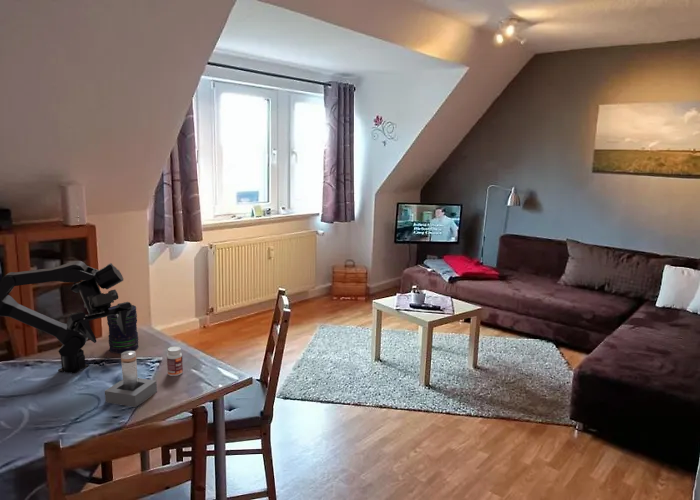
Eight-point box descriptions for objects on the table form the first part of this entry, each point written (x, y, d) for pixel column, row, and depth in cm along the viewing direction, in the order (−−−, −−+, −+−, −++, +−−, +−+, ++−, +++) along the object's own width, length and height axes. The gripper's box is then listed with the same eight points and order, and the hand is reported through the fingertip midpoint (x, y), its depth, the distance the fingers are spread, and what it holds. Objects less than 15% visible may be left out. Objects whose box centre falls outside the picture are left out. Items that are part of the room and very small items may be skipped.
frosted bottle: (120, 397, 154) (117, 355, 151) (129, 391, 158) (126, 350, 155) (133, 399, 153) (130, 357, 150) (141, 392, 157) (138, 351, 154)
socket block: (105, 402, 152) (104, 390, 151) (128, 387, 162) (127, 376, 161) (135, 407, 150) (135, 395, 149) (156, 391, 159) (156, 380, 158)
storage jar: (112, 344, 195) (109, 305, 192) (140, 342, 197) (138, 303, 194) (106, 354, 185) (103, 313, 182) (136, 352, 188) (134, 312, 185)
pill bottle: (178, 377, 169) (177, 352, 168) (164, 375, 170) (163, 350, 169) (185, 370, 174) (184, 346, 172) (172, 369, 175) (171, 345, 173)
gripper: (67, 288, 157) (86, 333, 152) (128, 277, 171) (147, 318, 166) (59, 308, 164) (76, 351, 159) (118, 295, 178) (136, 335, 173)
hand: (110, 338), depth 164 cm, fingers open, 9 cm apart
